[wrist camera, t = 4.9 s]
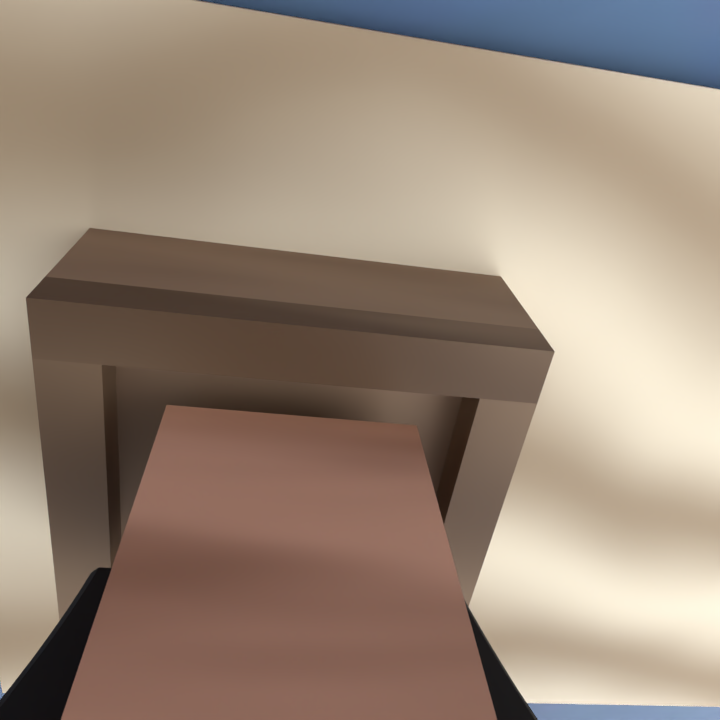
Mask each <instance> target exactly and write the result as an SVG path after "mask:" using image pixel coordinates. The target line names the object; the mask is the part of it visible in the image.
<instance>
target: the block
mask: <svg viewBox="0 0 720 720" xmlns="http://www.w3.org/2000/svg"><path fill="white" fill-rule="evenodd" d="M61 720H497V717H496V714H495V710H494V706H493V703H492V699H491V696H490V692H489V688H488V685H487V681H486V677H485V674H484V670H483V666H482V663H481V659H480V655H479V652H478V648H477V644H476V641H475V637H474V633H473V630H472V626H471V622H470V619H469V615H468V611H467V608H466V604H465V600H464V597H463V593H462V589H461V586H460V582H459V579H458V575H457V571H456V568H455V564H454V560H453V557H452V553H451V549H450V546H449V542H448V538H447V535H446V531H445V527H444V524H443V520H442V516H441V513H440V509H439V505H438V502H437V498H436V494H435V491H434V487H433V483H432V480H431V476H430V473H429V469H428V465H427V462H426V458H425V454H424V451H423V447H422V443H421V440H420V436H419V432H418V429H417V425H406V424H394V423H382V422H370V421H358V420H345V419H333V418H321V417H309V416H297V415H285V414H272V413H260V412H248V411H236V410H224V409H212V408H199V407H187V406H175V405H166V408H165V411H164V414H163V417H162V420H161V423H160V426H159V429H158V432H157V435H156V438H155V441H154V444H153V447H152V450H151V453H150V456H149V459H148V462H147V465H146V468H145V471H144V474H143V477H142V480H141V483H140V486H139V489H138V492H137V495H136V498H135V501H134V503H133V506H132V509H131V512H130V515H129V518H128V521H127V524H126V527H125V530H124V533H123V536H122V539H121V542H120V545H119V548H118V551H117V554H116V557H115V560H114V563H113V566H112V569H111V572H110V575H109V578H108V581H107V584H106V587H105V590H104V593H103V596H102V599H101V602H100V605H99V608H98V611H97V614H96V617H95V620H94V623H93V626H92V628H91V631H90V634H89V637H88V640H87V643H86V646H85V649H84V652H83V655H82V658H81V661H80V664H79V667H78V670H77V673H76V676H75V679H74V682H73V685H72V688H71V691H70V694H69V697H68V700H67V703H66V706H65V709H64V712H63V715H62V718H61Z"/></svg>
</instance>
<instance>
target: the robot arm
mask: <svg viewBox="0 0 720 720" xmlns="http://www.w3.org/2000/svg"><path fill="white" fill-rule="evenodd" d="M111 569H112V568H104V567H99V568H97V569H96V570H94V571H93V572H91V573H90V575H89V577H88V578H87V580H86V581H85V583H84V585H83V586H82V588H81V589H80V591H79V593H78V594H77V596H76V597H75V599H74V600H73V602H72V603H71V605H70V606H69V608H68V609H67V611H66V612H65V614H64V615H63V616H62V618H61V619H60V621H59V622H58V624H57V625H56V626H55V628H54V629H53V631H52V632H51V633H50V635H49V636H48V638H47V639H46V640H45V642H44V643H43V645H42V646H41V647H40V649H39V650H38V651H37V653H36V654H35V656H34V657H33V658H32V660H31V661H30V662H29V663H28V665H27V666H26V667H25V669H24V670H23V671H22V673H21V674H20V675H19V676H18V678H17V679H16V680H15V682H14V683H13V684H12V685H11V687H10V688H9V689H8V691H7V692H6V693H5V695H4V696H3V697H2V698H1V700H0V720H61V718H62V715H63V712H64V709H65V706H66V703H67V700H68V697H69V694H70V691H71V688H72V685H73V682H74V679H75V676H76V673H77V670H78V667H79V664H80V661H81V658H82V655H83V652H84V649H85V646H86V643H87V640H88V637H89V634H90V631H91V628H92V626H93V623H94V620H95V617H96V614H97V611H98V608H99V605H100V602H101V599H102V596H103V593H104V590H105V587H106V584H107V581H108V578H109V575H110V572H111ZM465 604H466V608H467V611H468V615H469V619H470V622H471V626H472V630H473V633H474V637H475V641H476V644H477V648H478V652H479V655H480V659H481V663H482V666H483V670H484V674H485V677H486V681H487V685H488V688H489V692H490V696H491V699H492V703H493V706H494V710H495V714H496V717H497V720H537V718H536V716H535V715H534V713H533V712H532V710H531V709H530V707H529V706H528V704H527V703H526V701H525V700H524V698H523V697H522V695H521V693H520V692H519V690H518V689H517V687H516V686H515V684H514V683H513V681H512V679H511V678H510V676H509V675H508V673H507V671H506V670H505V668H504V666H503V665H502V663H501V661H500V660H499V658H498V656H497V655H496V653H495V651H494V650H493V648H492V647H491V645H490V643H489V641H488V640H487V638H486V636H485V635H484V633H483V631H482V630H481V628H480V626H479V624H478V623H477V621H476V619H475V617H474V616H473V614H472V612H471V610H470V609H469V607H468V605H467V603H466V602H465Z"/></svg>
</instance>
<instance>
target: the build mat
mask: <svg viewBox="0 0 720 720" xmlns="http://www.w3.org/2000/svg"><path fill="white" fill-rule="evenodd" d="M166 405H175V406H187V407H199V408H212V409H224V410H236V411H248V412H260V413H272V414H285V415H297V416H309V417H321V418H333V419H345V420H358V421H370V422H382V423H394V424H406V425H417V429H418V432H419V436H420V440H421V443H422V447H423V451H424V454H425V458H426V462H427V465H428V469H429V473H430V476H431V480H432V483H433V487H434V491H435V494H436V498H437V502H438V505H439V509H440V513H441V516H442V520H443V524H444V527H445V531H446V535H447V538H448V542H449V546H450V549H451V553H452V557H453V560H454V564H455V568H456V571H457V575H458V579H459V582H460V586H461V589H462V593H463V597H464V600H465V602H466V603H467V605H468V607H469V609H470V610H471V612H472V614H473V616H474V617H475V619H476V621H477V623H478V624H479V626H480V628H481V630H482V631H483V633H484V635H485V636H486V638H487V640H488V641H489V643H490V645H491V647H492V648H493V650H494V651H495V653H496V655H497V656H498V658H499V660H500V661H501V663H502V665H503V666H504V668H505V670H506V671H507V673H508V675H509V676H510V678H511V679H512V681H513V683H514V684H515V686H516V687H517V689H518V690H519V692H520V693H521V695H522V697H523V698H524V700H525V701H526V703H551V704H603V705H655V706H706V707H720V89H717V88H711V87H705V86H699V85H693V84H687V83H681V82H676V81H670V80H664V79H658V78H652V77H646V76H640V75H634V74H629V73H623V72H617V71H611V70H605V69H599V68H593V67H587V66H582V65H576V64H570V63H564V62H558V61H552V60H546V59H540V58H535V57H529V56H523V55H517V54H511V53H505V52H499V51H493V50H488V49H482V48H476V47H470V46H464V45H458V44H452V43H447V42H441V41H435V40H429V39H423V38H417V37H411V36H405V35H400V34H394V33H388V32H382V31H376V30H370V29H364V28H358V27H353V26H347V25H341V24H335V23H329V22H323V21H317V20H311V19H306V18H300V17H294V16H288V15H282V14H276V13H270V12H264V11H259V10H253V9H247V8H241V7H235V6H229V5H223V4H217V3H212V2H206V1H200V0H0V681H1V687H2V692H3V693H6V692H7V691H8V689H9V688H10V687H11V685H12V684H13V683H14V682H15V680H16V679H17V678H18V676H19V675H20V674H21V673H22V671H23V670H24V669H25V667H26V666H27V665H28V663H29V662H30V661H31V660H32V658H33V657H34V656H35V654H36V653H37V651H38V650H39V649H40V647H41V646H42V645H43V643H44V642H45V640H46V639H47V638H48V636H49V635H50V633H51V632H52V631H53V629H54V628H55V626H56V625H57V624H58V622H59V621H60V619H61V618H62V616H63V615H64V614H65V612H66V611H67V609H68V608H69V606H70V605H71V603H72V602H73V600H74V599H75V597H76V596H77V594H78V593H79V591H80V589H81V588H82V586H83V585H84V583H85V581H86V580H87V578H88V577H89V575H90V573H91V572H93V571H94V570H96V569H97V568H99V567H104V568H112V566H113V563H114V560H115V557H116V554H117V551H118V548H119V545H120V542H121V539H122V536H123V533H124V530H125V527H126V524H127V521H128V518H129V515H130V512H131V509H132V506H133V503H134V501H135V498H136V495H137V492H138V489H139V486H140V483H141V480H142V477H143V474H144V471H145V468H146V465H147V462H148V459H149V456H150V453H151V450H152V447H153V444H154V441H155V438H156V435H157V432H158V429H159V426H160V423H161V420H162V417H163V414H164V411H165V408H166Z"/></svg>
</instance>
